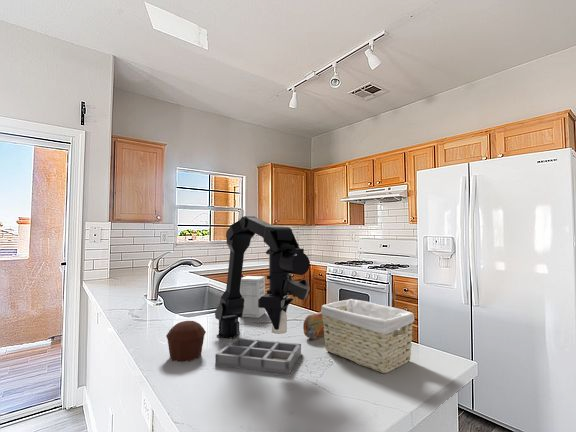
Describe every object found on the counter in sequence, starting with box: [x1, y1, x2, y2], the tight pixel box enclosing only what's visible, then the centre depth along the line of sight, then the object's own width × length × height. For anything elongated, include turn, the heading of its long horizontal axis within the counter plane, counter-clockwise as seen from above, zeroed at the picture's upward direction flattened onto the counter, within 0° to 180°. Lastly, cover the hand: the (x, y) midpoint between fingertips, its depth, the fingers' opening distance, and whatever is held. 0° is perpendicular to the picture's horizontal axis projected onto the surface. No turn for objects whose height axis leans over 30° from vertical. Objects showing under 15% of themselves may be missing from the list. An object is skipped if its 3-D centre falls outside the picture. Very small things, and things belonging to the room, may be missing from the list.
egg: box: [271, 310, 288, 335], centre depth 90 cm, size 4×4×6 cm
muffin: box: [166, 320, 207, 363], centre depth 97 cm, size 12×11×10 cm
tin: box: [302, 311, 328, 341], centre depth 116 cm, size 15×3×8 cm, turn 132°
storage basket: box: [320, 298, 415, 374], centre depth 97 cm, size 24×16×15 cm
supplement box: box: [240, 275, 266, 319], centre depth 145 cm, size 10×9×17 cm
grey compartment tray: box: [214, 337, 302, 375], centre depth 95 cm, size 21×15×3 cm
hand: (279, 327), depth 90 cm, fingers closed on egg, 4 cm apart
